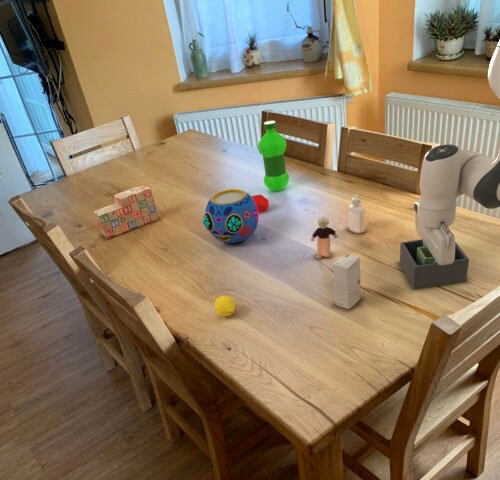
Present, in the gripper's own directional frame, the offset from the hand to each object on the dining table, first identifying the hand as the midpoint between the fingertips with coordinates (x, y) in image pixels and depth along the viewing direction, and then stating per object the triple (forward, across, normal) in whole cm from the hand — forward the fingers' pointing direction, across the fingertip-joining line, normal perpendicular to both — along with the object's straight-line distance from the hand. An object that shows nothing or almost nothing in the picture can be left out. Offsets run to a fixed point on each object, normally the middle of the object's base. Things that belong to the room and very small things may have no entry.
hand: (432, 262), depth 132 cm
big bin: (+3, 0, 0) cm, 3 cm away
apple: (+3, +56, +44) cm, 71 cm away
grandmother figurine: (+3, +17, +26) cm, 31 cm away
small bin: (+2, 0, 0) cm, 2 cm away
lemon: (+3, -6, +56) cm, 56 cm away
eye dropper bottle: (+3, +30, +14) cm, 33 cm away
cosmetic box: (+3, -8, +24) cm, 25 cm away
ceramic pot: (+3, +37, +53) cm, 65 cm away
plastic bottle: (+3, +74, +36) cm, 82 cm away
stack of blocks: (+3, +60, +93) cm, 111 cm away
